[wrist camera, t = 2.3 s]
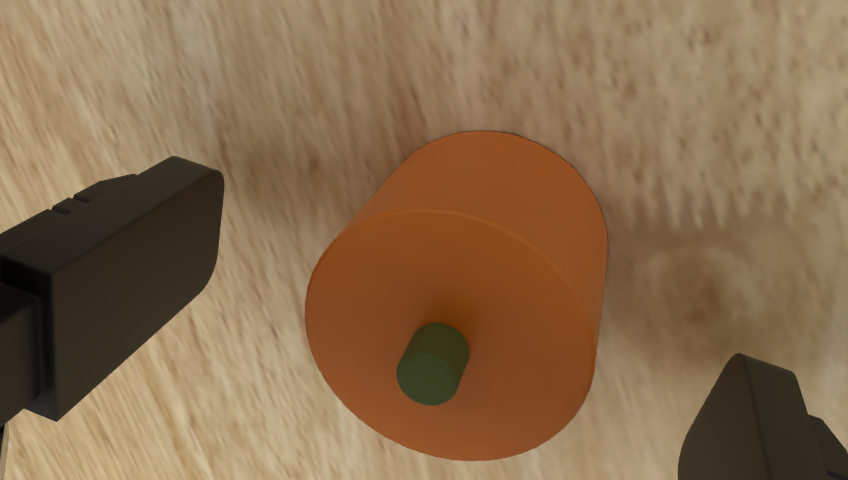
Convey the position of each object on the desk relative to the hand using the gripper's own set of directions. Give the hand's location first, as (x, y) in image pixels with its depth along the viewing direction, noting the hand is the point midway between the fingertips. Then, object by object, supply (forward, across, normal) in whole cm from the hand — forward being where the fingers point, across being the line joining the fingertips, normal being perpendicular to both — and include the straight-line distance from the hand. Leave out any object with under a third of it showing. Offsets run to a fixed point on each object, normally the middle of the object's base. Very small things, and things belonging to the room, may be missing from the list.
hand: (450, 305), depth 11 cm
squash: (+2, 0, 0) cm, 2 cm away
